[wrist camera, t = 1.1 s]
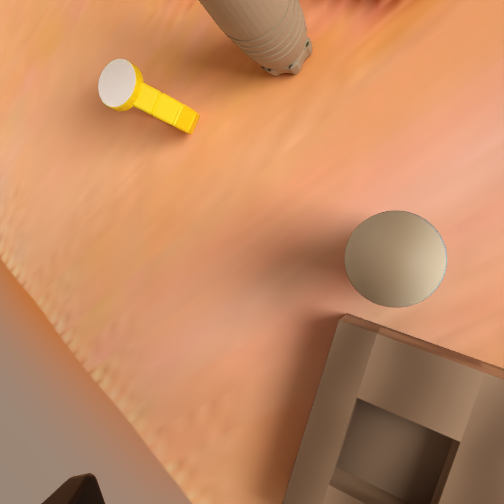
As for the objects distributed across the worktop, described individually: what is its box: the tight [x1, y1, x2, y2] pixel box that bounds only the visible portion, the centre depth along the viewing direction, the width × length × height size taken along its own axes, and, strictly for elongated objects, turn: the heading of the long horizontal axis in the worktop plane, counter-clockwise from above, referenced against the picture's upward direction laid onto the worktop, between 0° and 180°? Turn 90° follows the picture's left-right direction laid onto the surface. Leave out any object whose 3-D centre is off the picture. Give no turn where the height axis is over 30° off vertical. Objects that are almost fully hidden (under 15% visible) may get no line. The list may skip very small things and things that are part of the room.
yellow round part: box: [98, 59, 200, 134], centre depth 26 cm, size 6×3×6 cm, turn 61°
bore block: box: [282, 313, 504, 504], centre depth 20 cm, size 18×12×2 cm, turn 73°
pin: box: [344, 211, 447, 307], centre depth 19 cm, size 4×4×8 cm
